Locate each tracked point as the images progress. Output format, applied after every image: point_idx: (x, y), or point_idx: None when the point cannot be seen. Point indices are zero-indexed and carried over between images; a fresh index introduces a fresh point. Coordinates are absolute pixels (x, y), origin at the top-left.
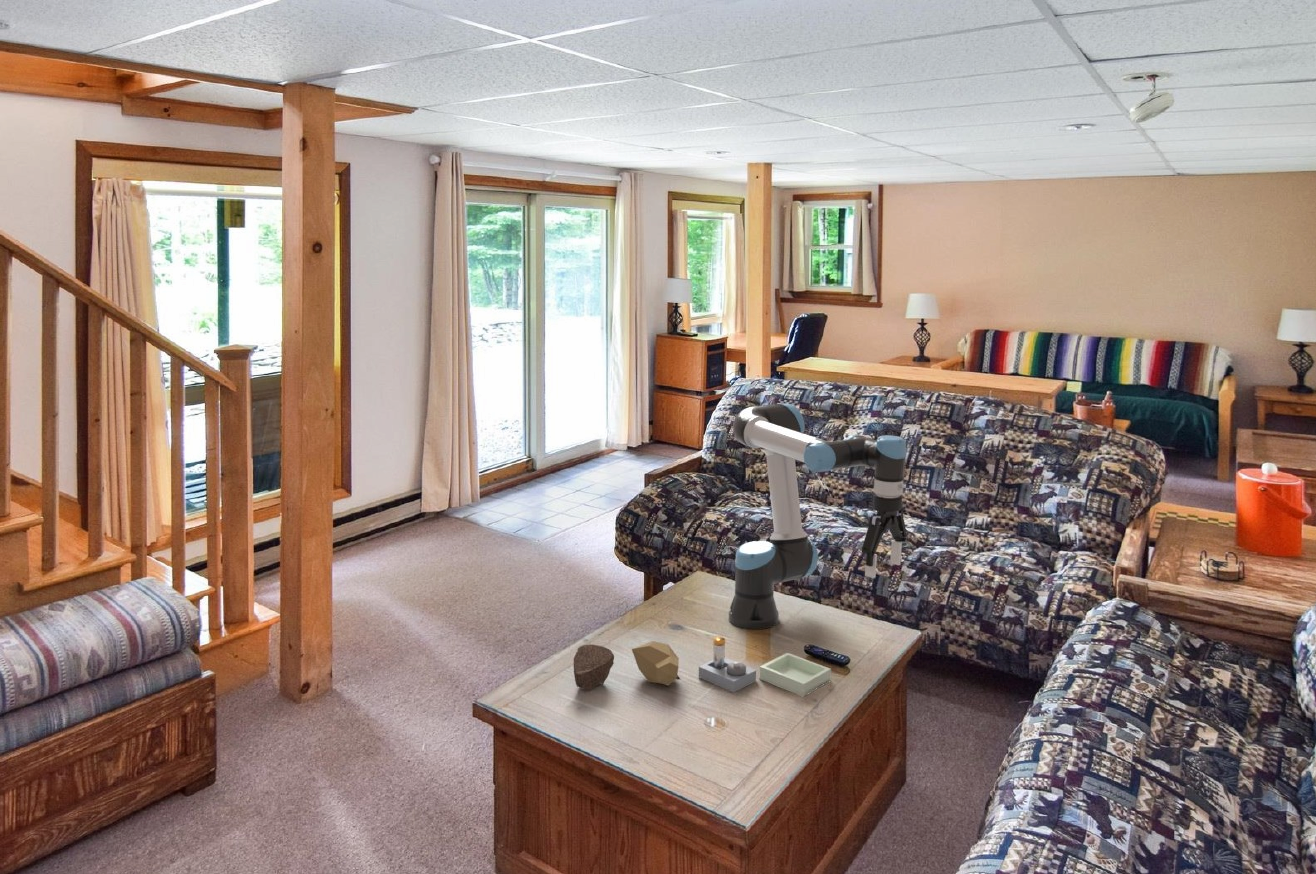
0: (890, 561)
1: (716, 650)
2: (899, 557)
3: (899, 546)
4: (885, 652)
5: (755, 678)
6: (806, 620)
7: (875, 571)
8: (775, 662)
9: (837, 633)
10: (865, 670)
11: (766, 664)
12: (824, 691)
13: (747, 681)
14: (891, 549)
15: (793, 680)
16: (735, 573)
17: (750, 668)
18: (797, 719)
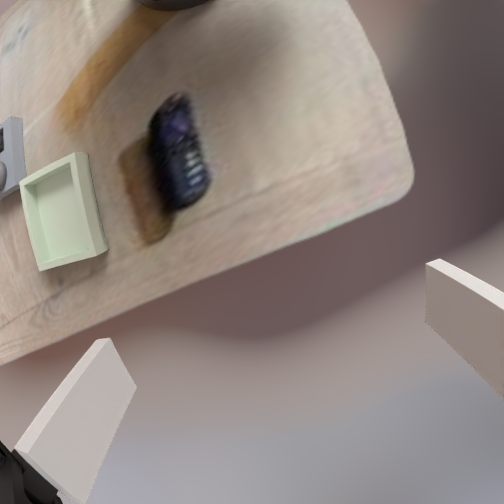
0: (432, 270)
1: None
2: (454, 347)
3: (502, 392)
4: (296, 213)
5: None
6: (271, 14)
7: (120, 414)
8: (43, 175)
9: (280, 84)
10: (193, 252)
11: (27, 179)
12: (83, 270)
13: (11, 191)
14: (493, 306)
15: (33, 251)
16: None
17: (13, 175)
18: (28, 304)
